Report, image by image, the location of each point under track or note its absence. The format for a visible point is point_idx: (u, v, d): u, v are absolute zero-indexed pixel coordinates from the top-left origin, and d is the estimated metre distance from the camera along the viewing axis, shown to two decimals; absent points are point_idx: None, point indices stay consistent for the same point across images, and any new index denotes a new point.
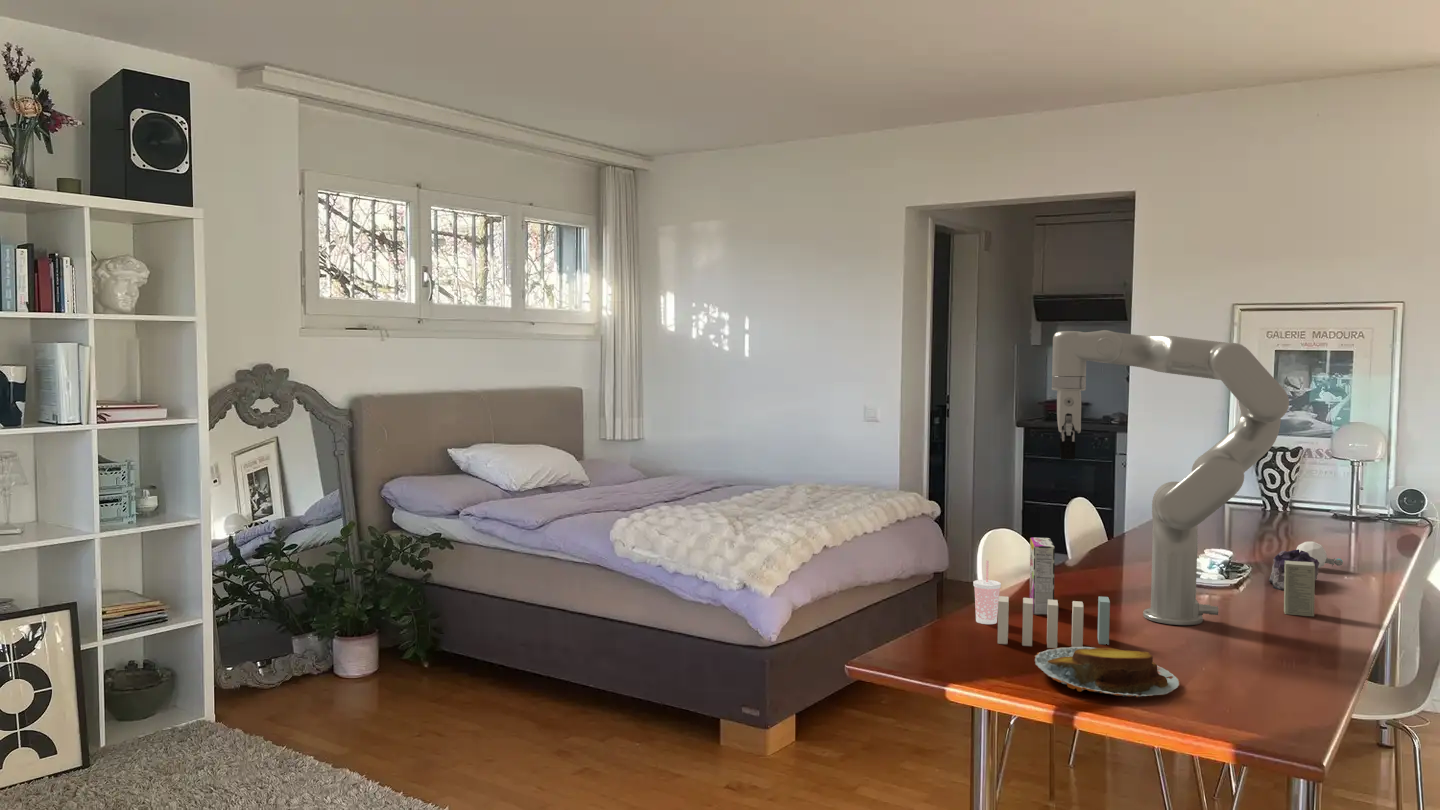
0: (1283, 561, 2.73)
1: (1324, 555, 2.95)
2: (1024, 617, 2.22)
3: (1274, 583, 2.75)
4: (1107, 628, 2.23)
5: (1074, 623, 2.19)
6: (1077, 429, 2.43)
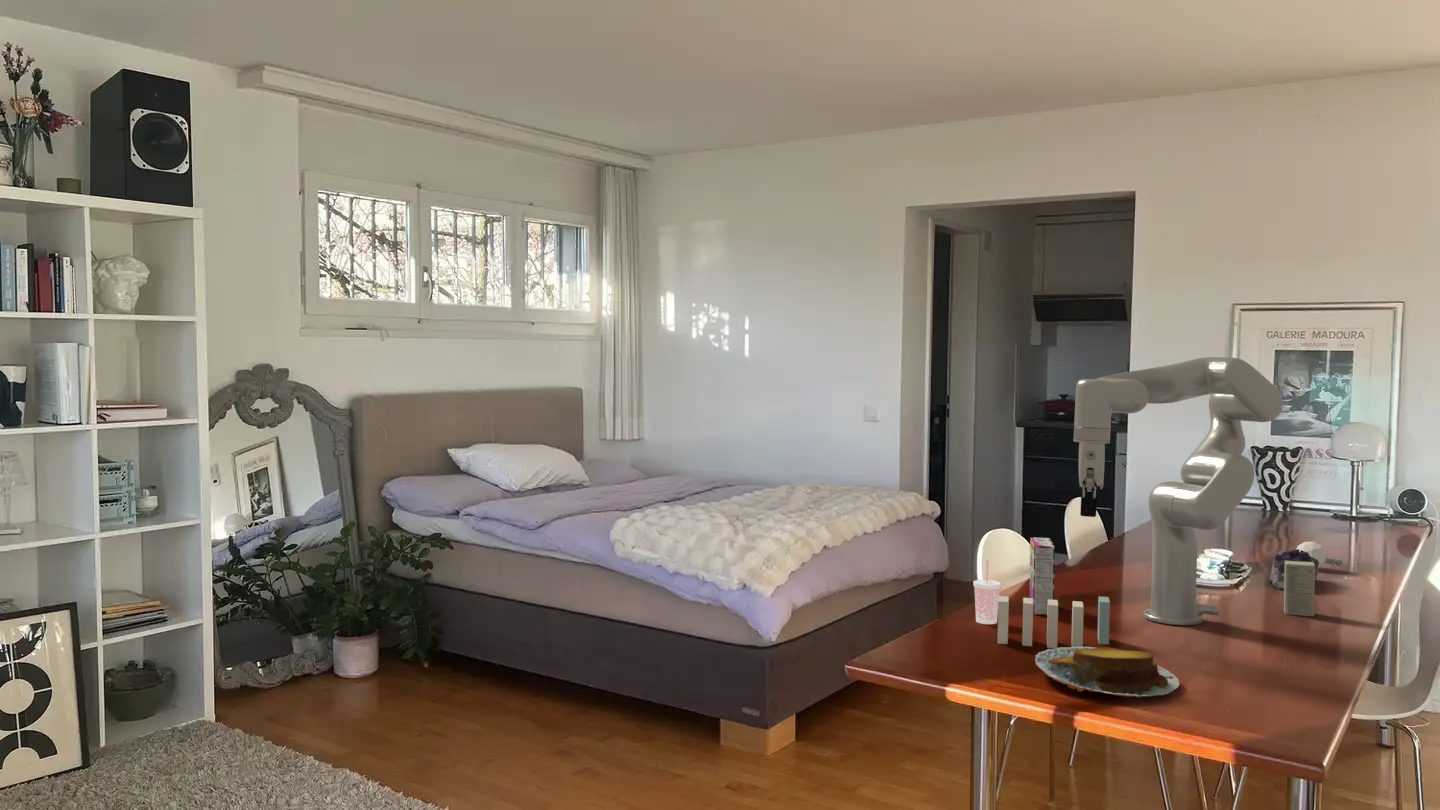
0: (1283, 561, 2.73)
1: (1324, 555, 2.95)
2: (1024, 617, 2.22)
3: (1274, 583, 2.75)
4: (1107, 628, 2.23)
5: (1074, 623, 2.19)
6: (1099, 485, 2.27)
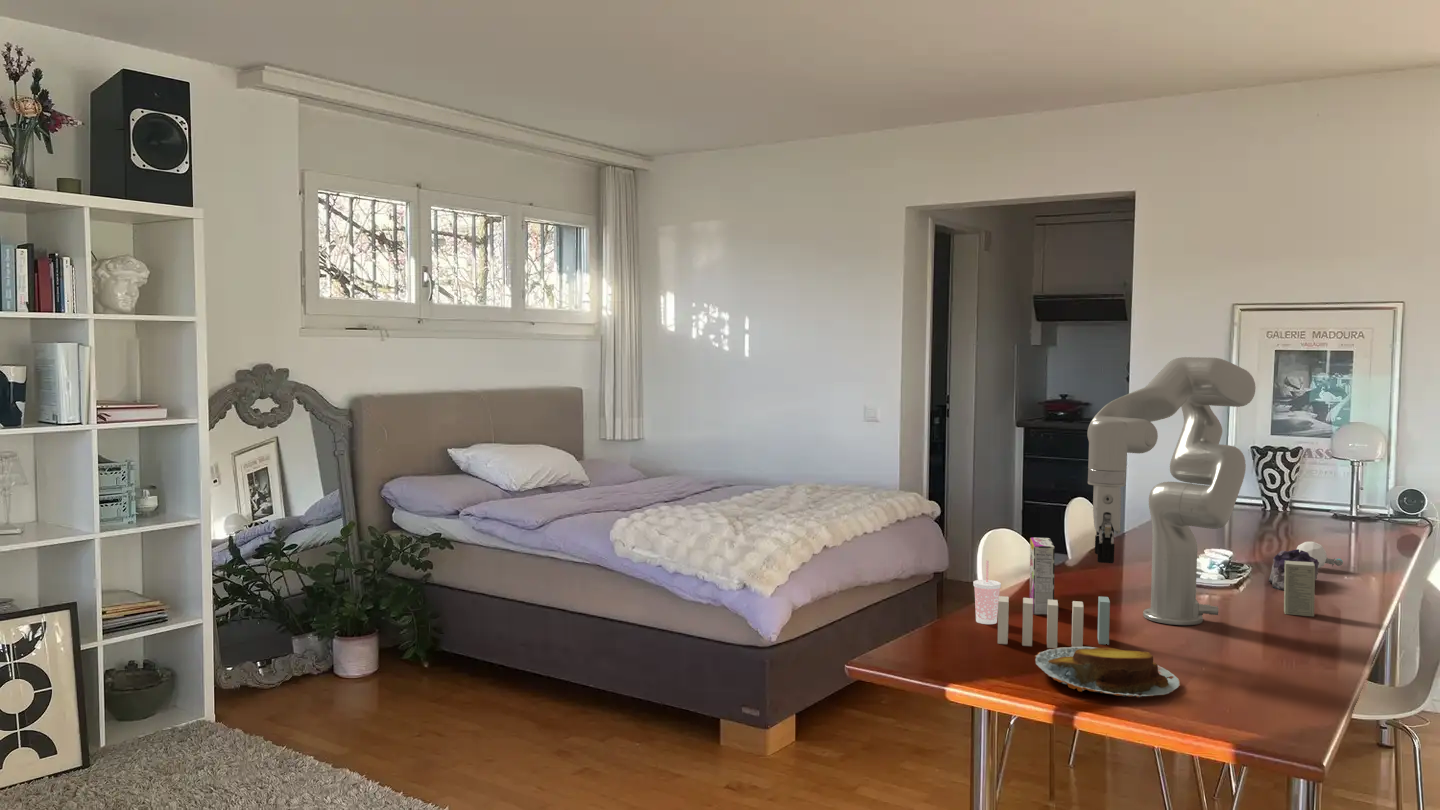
0: (1283, 561, 2.73)
1: (1324, 555, 2.95)
2: (1024, 617, 2.22)
3: (1274, 583, 2.75)
4: (1107, 628, 2.23)
5: (1074, 623, 2.19)
6: (1116, 530, 2.19)
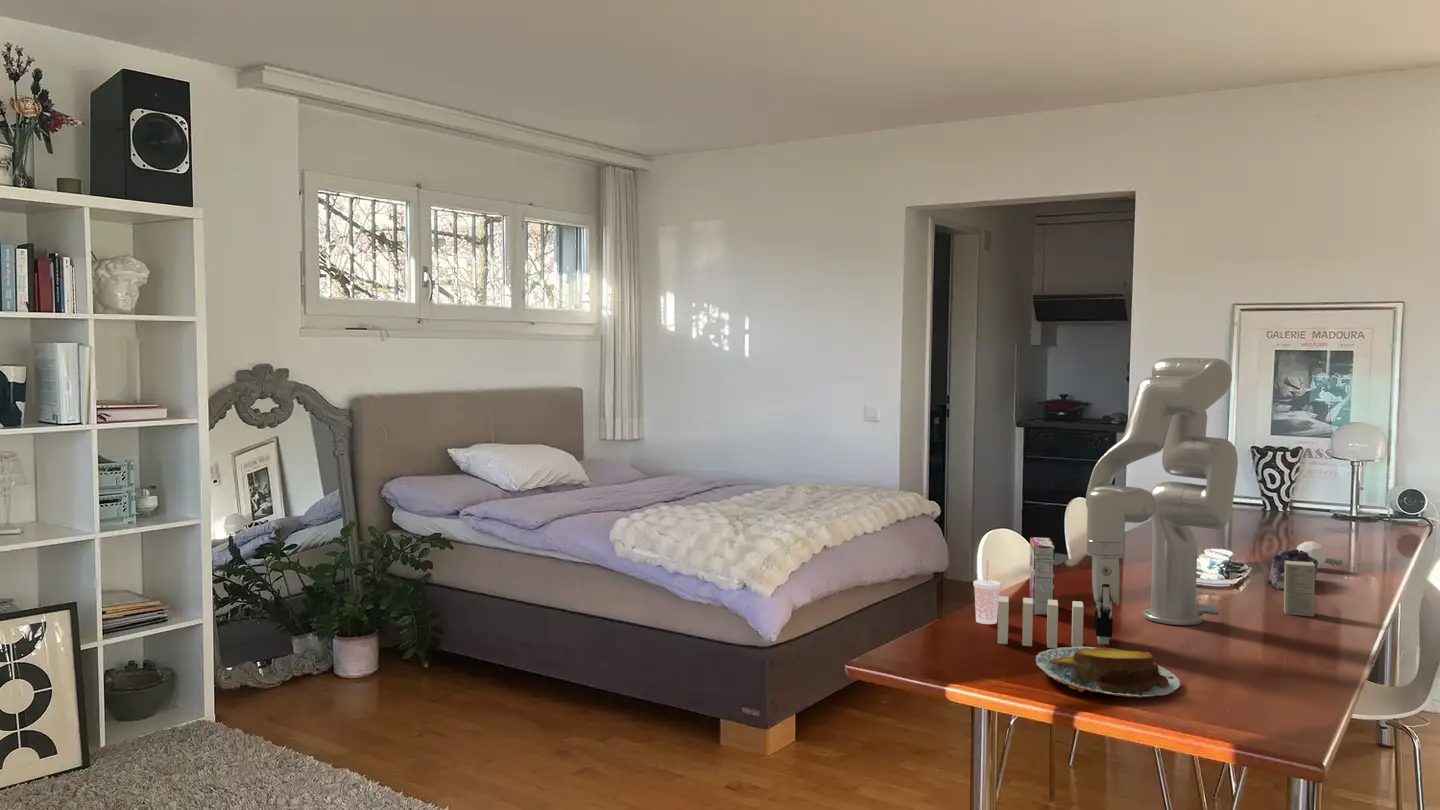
0: (1282, 561, 2.73)
1: (1324, 555, 2.95)
2: (1024, 617, 2.22)
3: (1273, 583, 2.75)
4: None
5: (1074, 623, 2.19)
6: (1115, 601, 2.20)
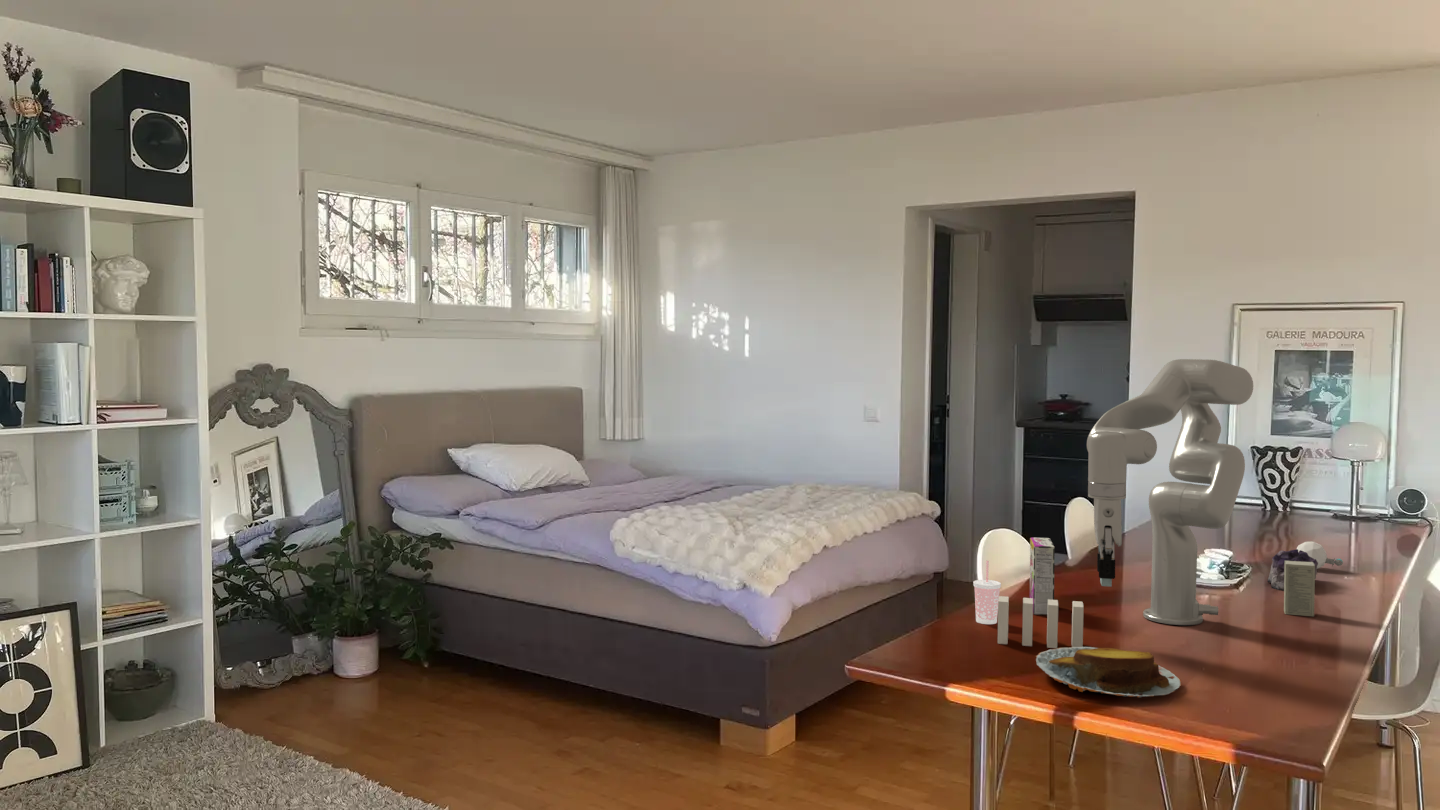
0: (1281, 561, 2.73)
1: (1324, 555, 2.95)
2: (1024, 617, 2.22)
3: (1272, 583, 2.75)
4: None
5: (1074, 623, 2.19)
6: (1118, 543, 2.19)
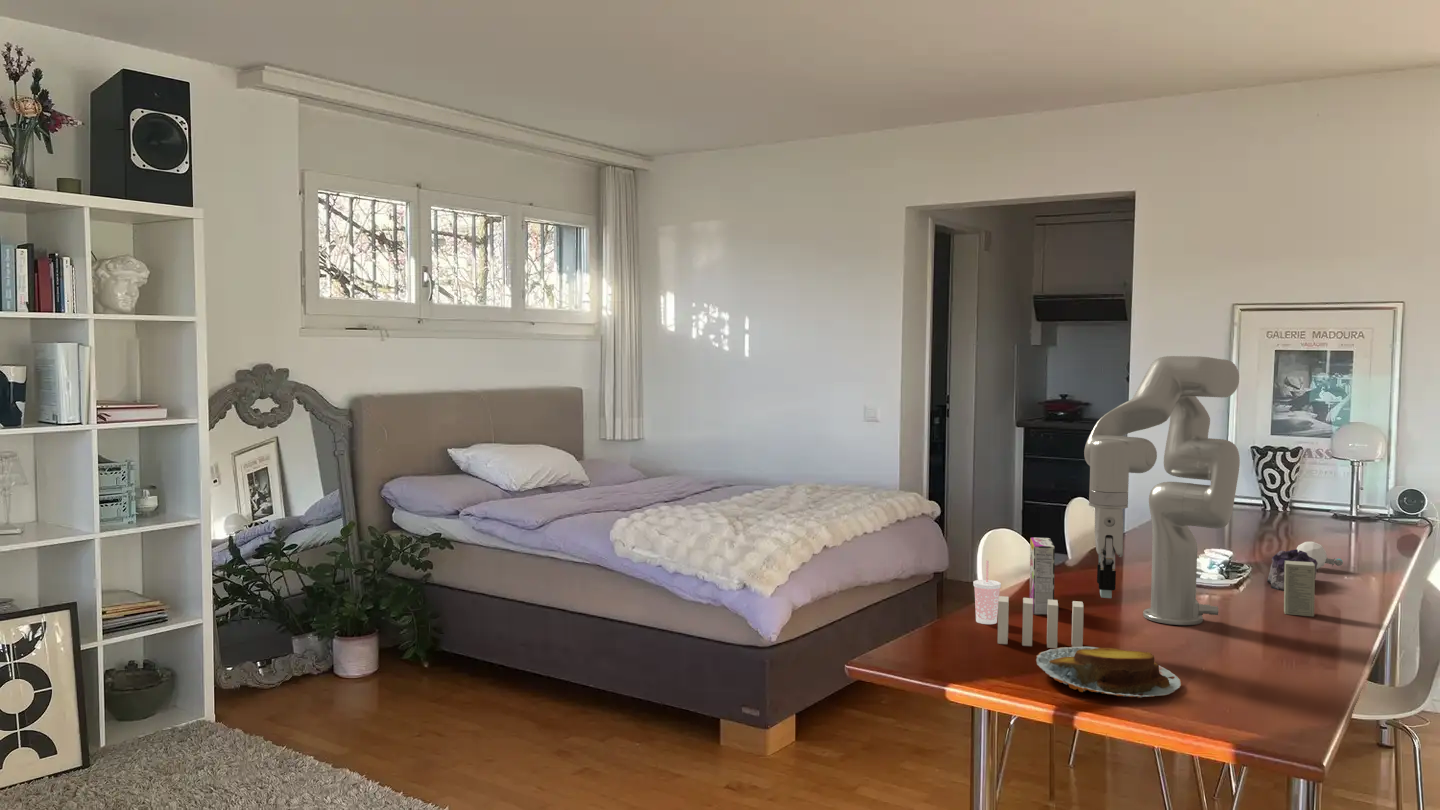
0: (1281, 561, 2.73)
1: (1324, 555, 2.95)
2: (1024, 617, 2.22)
3: (1272, 583, 2.75)
4: None
5: (1074, 623, 2.19)
6: (1119, 553, 2.13)
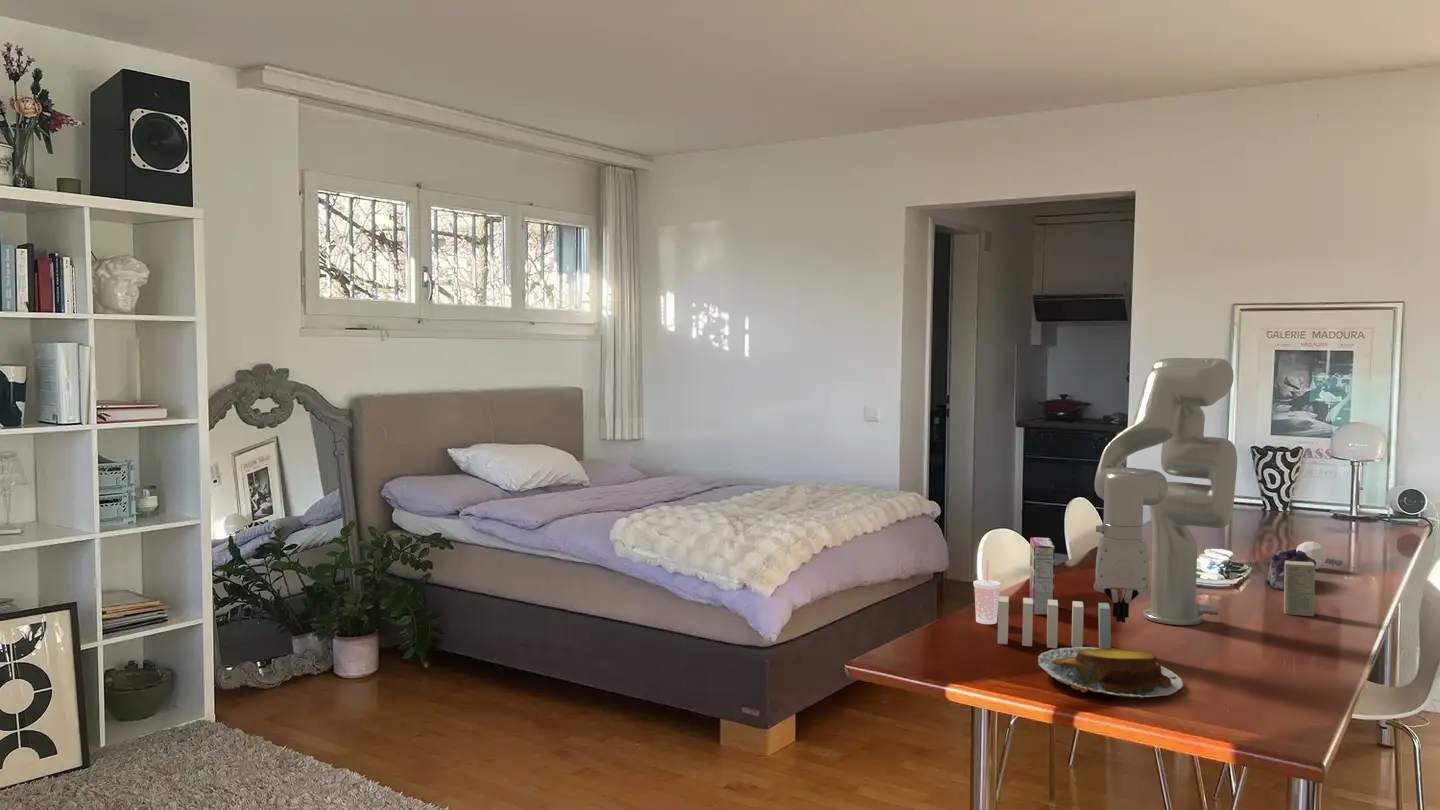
0: (1280, 561, 2.73)
1: (1324, 555, 2.95)
2: (1024, 617, 2.22)
3: (1271, 583, 2.75)
4: (1108, 635, 2.17)
5: (1074, 623, 2.19)
6: (1096, 582, 2.17)
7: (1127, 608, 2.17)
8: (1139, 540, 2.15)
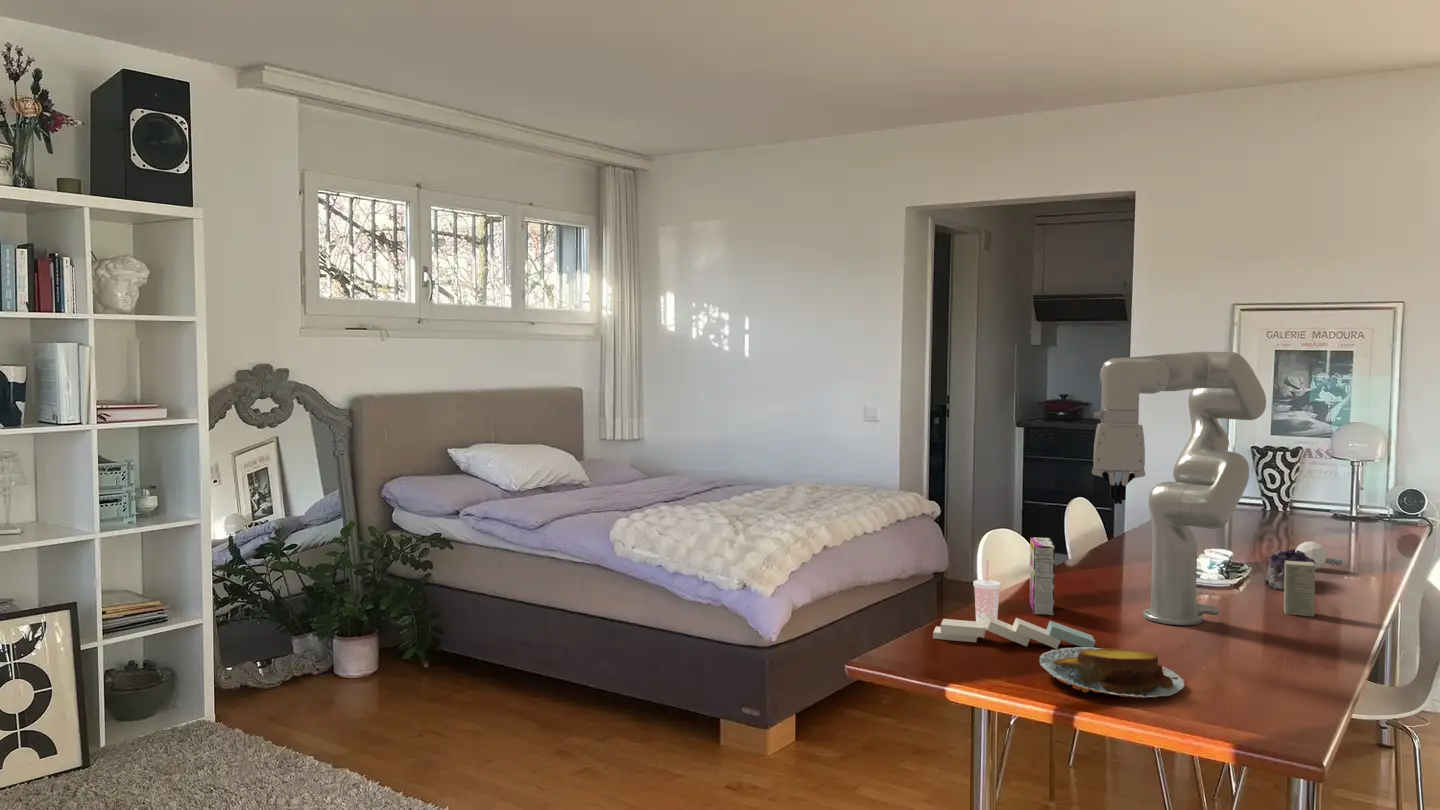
0: (1279, 561, 2.73)
1: (1324, 555, 2.95)
2: (955, 633, 2.25)
3: (1270, 583, 2.75)
4: (1078, 637, 2.19)
5: (1032, 637, 2.20)
6: (1094, 465, 2.26)
7: (1124, 490, 2.26)
8: (1135, 424, 2.23)
